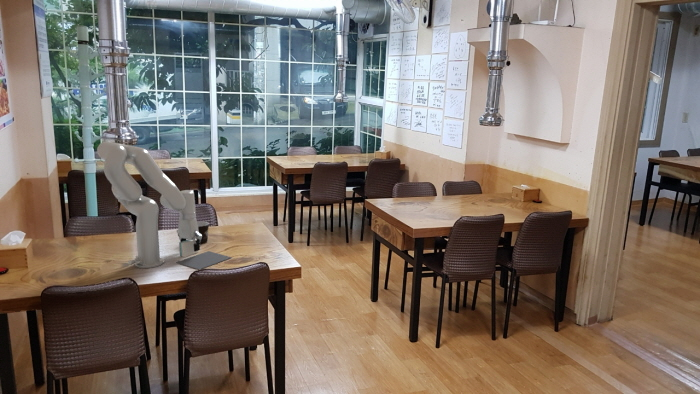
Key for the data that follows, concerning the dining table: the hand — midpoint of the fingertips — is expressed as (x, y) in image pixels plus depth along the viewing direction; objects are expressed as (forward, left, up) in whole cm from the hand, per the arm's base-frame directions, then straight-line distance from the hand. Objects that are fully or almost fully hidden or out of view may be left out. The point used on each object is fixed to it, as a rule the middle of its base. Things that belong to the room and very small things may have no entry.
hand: (190, 248), depth 258 cm
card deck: (-1, 0, -3) cm, 3 cm away
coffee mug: (+17, +10, -3) cm, 20 cm away
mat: (-3, -13, -3) cm, 13 cm away
